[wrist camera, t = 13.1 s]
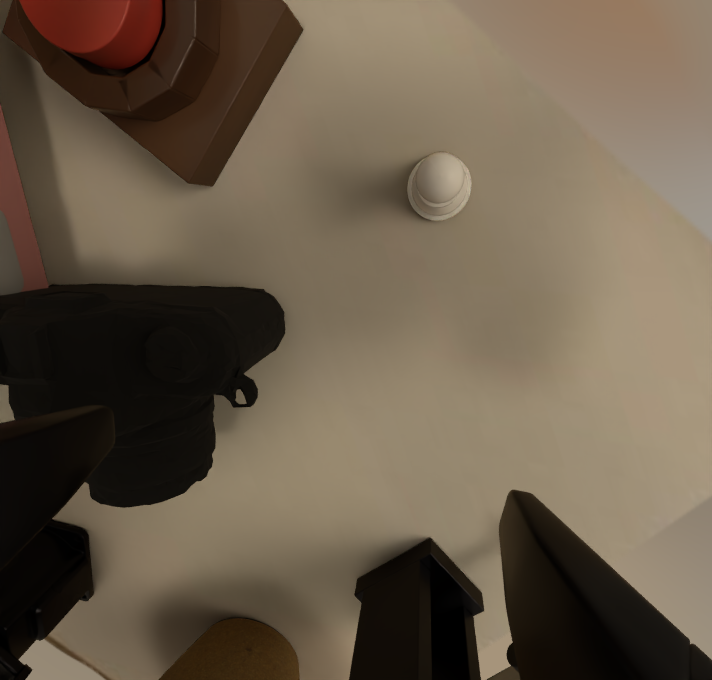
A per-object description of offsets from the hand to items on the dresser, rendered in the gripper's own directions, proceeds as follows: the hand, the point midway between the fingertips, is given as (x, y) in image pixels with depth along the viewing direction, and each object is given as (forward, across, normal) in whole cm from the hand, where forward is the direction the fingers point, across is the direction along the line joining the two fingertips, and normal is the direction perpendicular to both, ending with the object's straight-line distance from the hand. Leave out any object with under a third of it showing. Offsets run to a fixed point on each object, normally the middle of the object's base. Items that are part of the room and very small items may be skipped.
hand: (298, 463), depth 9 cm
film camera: (+12, +11, +4) cm, 17 cm away
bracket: (+13, -5, +17) cm, 22 cm away
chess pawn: (+13, -2, -7) cm, 15 cm away
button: (+9, +11, -11) cm, 18 cm away
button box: (+13, +11, -12) cm, 20 cm away
